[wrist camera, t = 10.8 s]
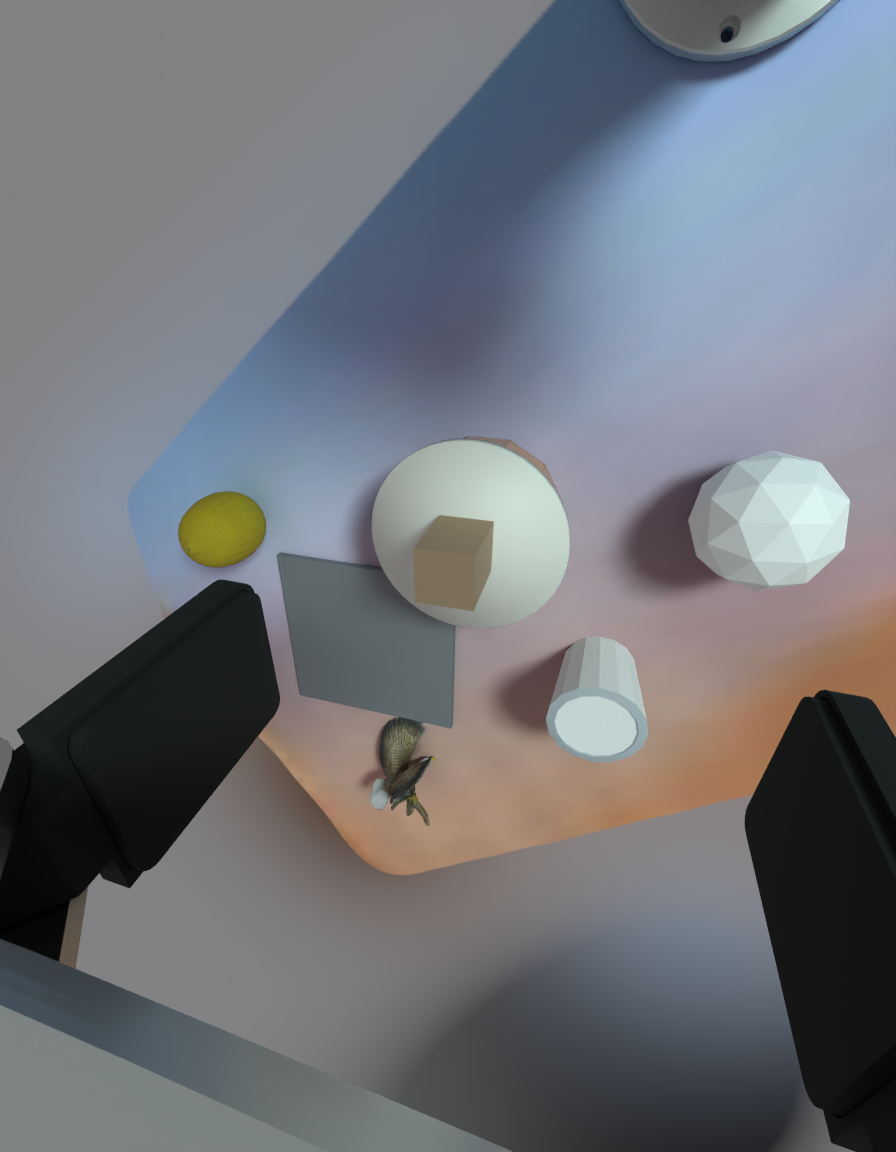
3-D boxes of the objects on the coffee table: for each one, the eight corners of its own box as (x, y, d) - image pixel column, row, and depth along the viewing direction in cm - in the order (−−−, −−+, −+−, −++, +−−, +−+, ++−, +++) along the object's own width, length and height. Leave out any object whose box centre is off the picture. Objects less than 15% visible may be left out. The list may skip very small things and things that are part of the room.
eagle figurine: (459, 798, 52) (454, 749, 46) (404, 848, 49) (391, 801, 43) (413, 750, 57) (403, 700, 51) (359, 792, 53) (342, 743, 48)
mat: (280, 552, 45) (277, 555, 44) (456, 579, 41) (454, 582, 41) (302, 691, 53) (300, 694, 52) (452, 724, 49) (451, 728, 48)
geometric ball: (764, 459, 33) (900, 446, 26) (752, 580, 34) (879, 601, 27) (666, 453, 31) (781, 437, 24) (656, 582, 32) (763, 605, 25)
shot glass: (638, 704, 42) (642, 771, 36) (553, 693, 44) (544, 755, 38) (648, 634, 39) (654, 695, 33) (556, 626, 41) (546, 682, 35)
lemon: (268, 474, 41) (201, 508, 35) (293, 536, 44) (235, 580, 37) (215, 484, 43) (142, 519, 36) (242, 544, 45) (178, 587, 39)
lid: (370, 430, 32) (325, 455, 27) (583, 447, 29) (577, 478, 24) (381, 607, 38) (347, 653, 33) (557, 636, 35) (549, 691, 30)
